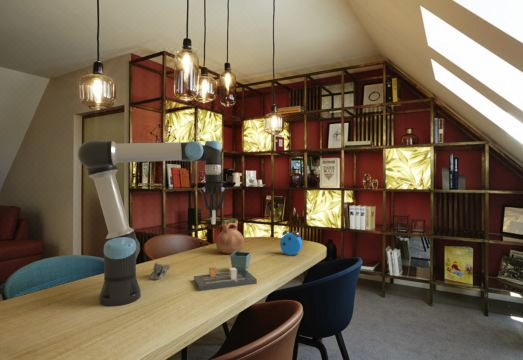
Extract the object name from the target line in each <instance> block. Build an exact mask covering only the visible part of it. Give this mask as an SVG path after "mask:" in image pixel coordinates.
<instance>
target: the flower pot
mask: <svg viewBox="0 0 523 360" xmlns="http://www.w3.org/2000/svg"><path fill="white" fill-rule="evenodd" d="M251 254H252V253H251V252H249V251H248V252H246V251H240V252H234V253H233V254H232V255H230V257H229V258H230V264H231V268H236V269H237V271H244V270H247V271H248V268H249V265H250V261H251Z"/></svg>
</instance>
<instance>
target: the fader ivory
mask: <svg viewBox="0 0 523 360" xmlns="http://www.w3.org/2000/svg"><path fill="white" fill-rule="evenodd" d="M228 269H229V272H230V279H237V269H236V268H232V267H229V268H228Z"/></svg>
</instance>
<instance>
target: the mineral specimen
mask: <svg viewBox="0 0 523 360" xmlns="http://www.w3.org/2000/svg"><path fill="white" fill-rule="evenodd" d="M171 267H172V266H170V264H161V263H159V262H155V263H154V265H153V269H152V270H153V271H151V272H150V277H149V278H150V279H151V280H152V281H153V280H159V279H162V278H163V277H164V275H165V274H167V273H168V271H169V270H170V269H171ZM151 280H150V281H151Z"/></svg>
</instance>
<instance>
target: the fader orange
mask: <svg viewBox="0 0 523 360" xmlns="http://www.w3.org/2000/svg"><path fill="white" fill-rule="evenodd" d="M216 271H217V267H216V266H215V265H208V274H209V276H210V277H214V276H216V273H217V272H216Z"/></svg>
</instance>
